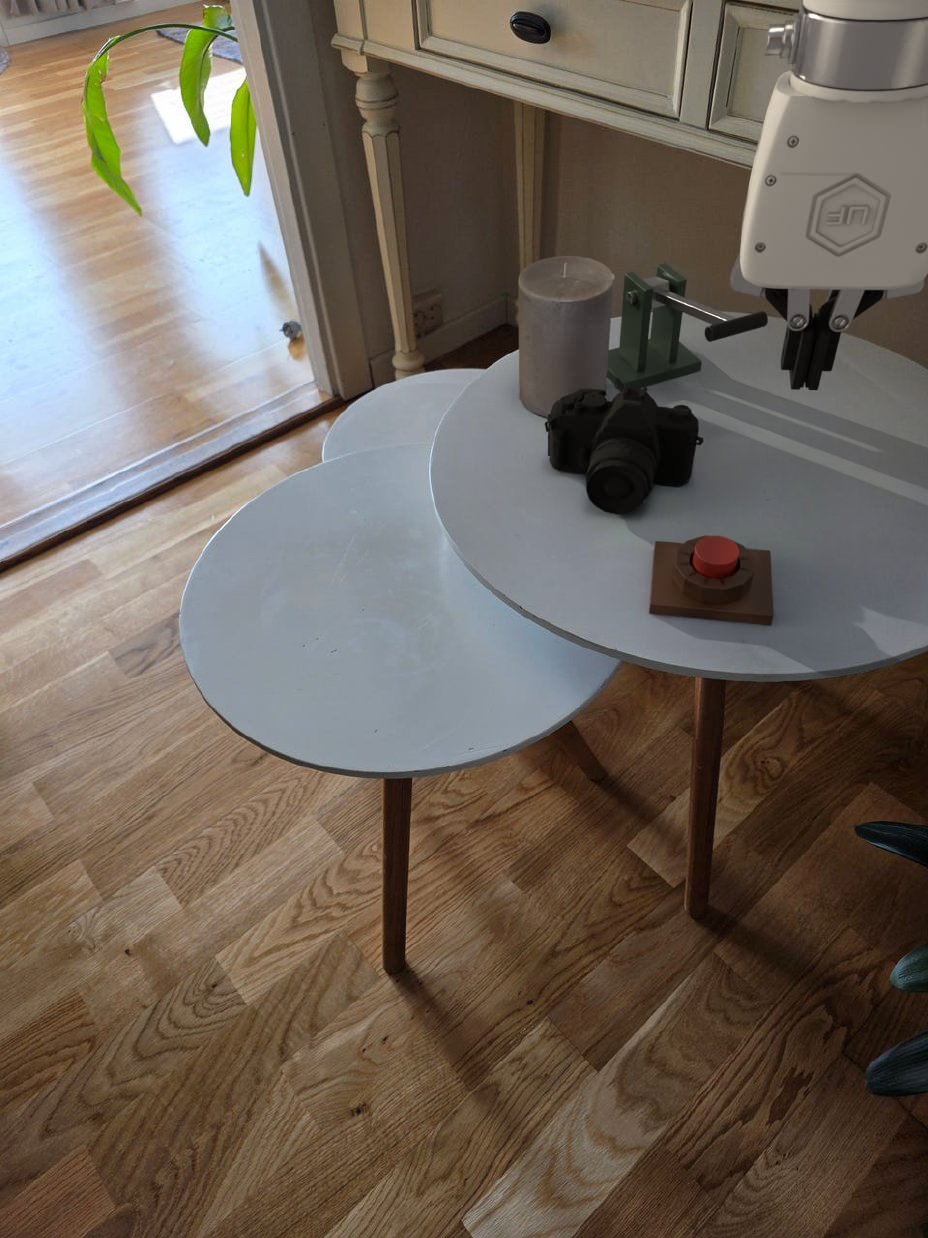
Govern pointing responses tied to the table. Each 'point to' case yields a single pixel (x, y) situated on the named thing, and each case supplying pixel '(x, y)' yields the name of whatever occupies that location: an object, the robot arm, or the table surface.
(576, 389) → the pillar candle
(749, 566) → the button block
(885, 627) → the table surface
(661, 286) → the lever
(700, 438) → the film camera
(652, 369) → the bracket
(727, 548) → the button
